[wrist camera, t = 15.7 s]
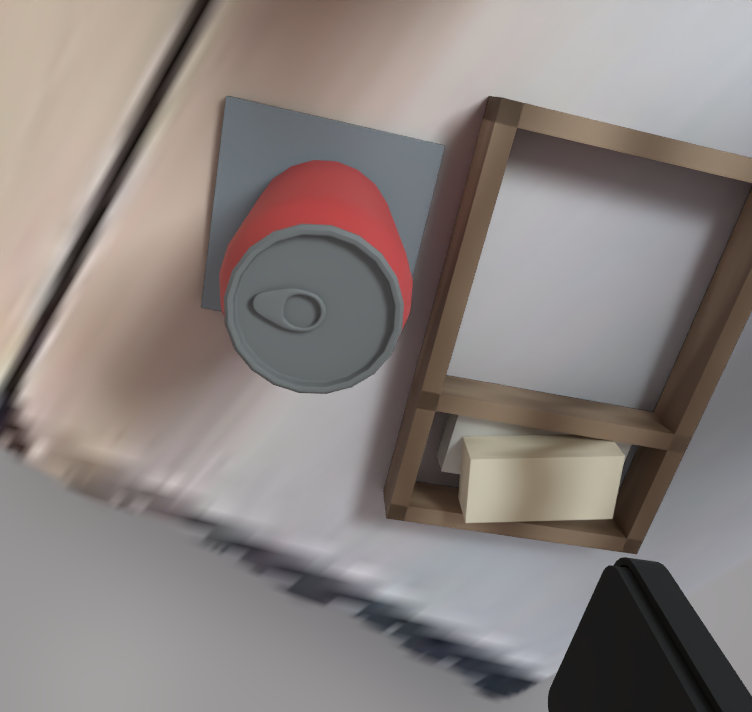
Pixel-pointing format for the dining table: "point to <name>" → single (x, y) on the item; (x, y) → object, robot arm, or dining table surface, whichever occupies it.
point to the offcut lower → (471, 426)
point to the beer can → (316, 280)
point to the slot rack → (555, 412)
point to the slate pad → (306, 143)
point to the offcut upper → (538, 478)
